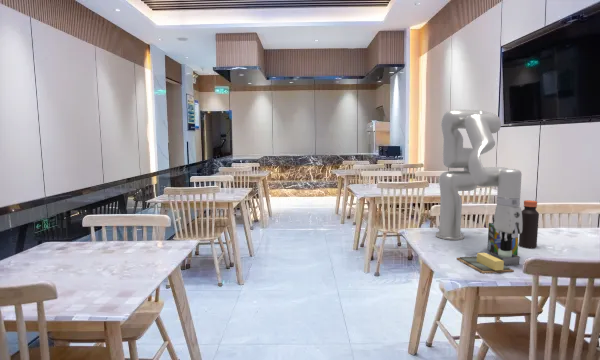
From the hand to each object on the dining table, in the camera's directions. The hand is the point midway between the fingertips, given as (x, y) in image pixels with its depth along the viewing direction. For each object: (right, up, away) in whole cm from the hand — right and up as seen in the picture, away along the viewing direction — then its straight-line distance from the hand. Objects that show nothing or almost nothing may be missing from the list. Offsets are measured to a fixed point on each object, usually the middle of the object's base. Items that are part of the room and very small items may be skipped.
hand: (505, 250), depth 142 cm
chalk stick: (-8, -3, -11) cm, 15 cm away
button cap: (0, -4, +1) cm, 4 cm away
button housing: (0, -5, +1) cm, 5 cm away
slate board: (-10, -5, -3) cm, 11 cm away
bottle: (+22, -3, +22) cm, 31 cm away
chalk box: (+6, -4, +14) cm, 15 cm away
